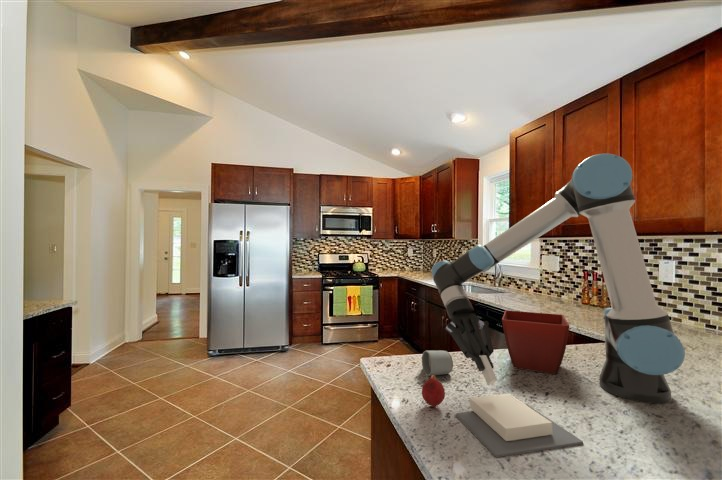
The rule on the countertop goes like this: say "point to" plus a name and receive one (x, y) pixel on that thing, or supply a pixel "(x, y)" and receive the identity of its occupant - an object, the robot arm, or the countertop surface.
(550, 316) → the plant pot
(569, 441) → the mat
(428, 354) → the ceramic mug
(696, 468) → the countertop surface
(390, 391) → the countertop surface
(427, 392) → the onion
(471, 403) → the tile
